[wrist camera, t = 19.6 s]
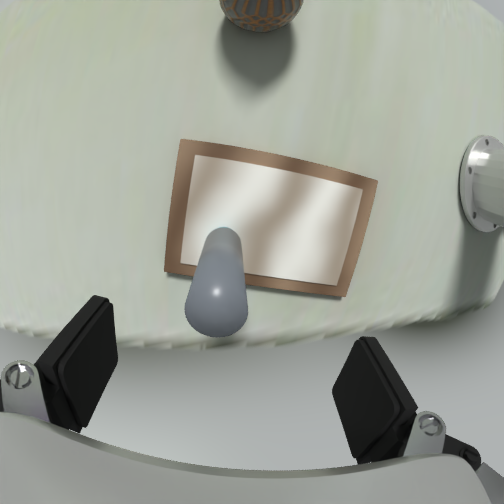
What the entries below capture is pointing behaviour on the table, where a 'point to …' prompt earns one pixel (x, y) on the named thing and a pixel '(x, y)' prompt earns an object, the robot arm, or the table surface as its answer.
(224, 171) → the brown picture frame
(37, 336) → the table surface
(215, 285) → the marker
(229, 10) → the vase
